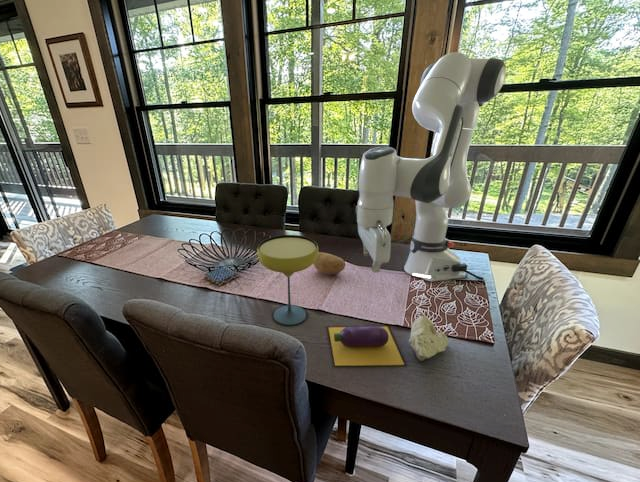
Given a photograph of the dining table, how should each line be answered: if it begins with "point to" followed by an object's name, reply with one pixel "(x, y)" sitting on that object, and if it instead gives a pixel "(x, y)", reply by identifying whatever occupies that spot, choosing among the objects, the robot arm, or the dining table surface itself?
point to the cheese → (426, 339)
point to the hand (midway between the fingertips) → (371, 263)
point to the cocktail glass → (288, 267)
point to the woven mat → (221, 275)
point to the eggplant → (362, 336)
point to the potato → (329, 263)
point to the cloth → (364, 352)
